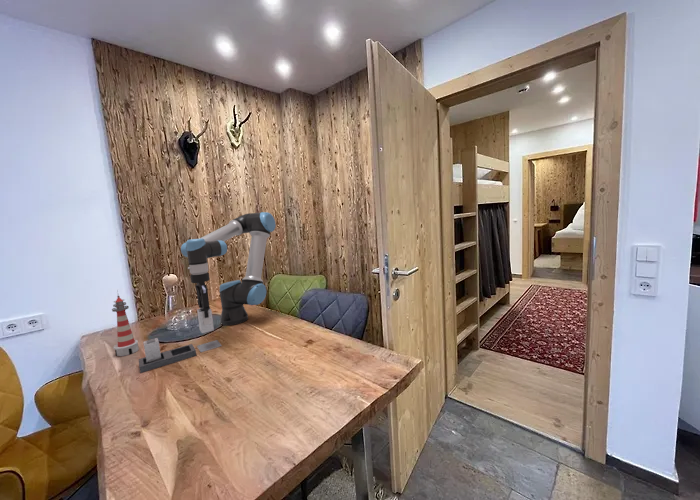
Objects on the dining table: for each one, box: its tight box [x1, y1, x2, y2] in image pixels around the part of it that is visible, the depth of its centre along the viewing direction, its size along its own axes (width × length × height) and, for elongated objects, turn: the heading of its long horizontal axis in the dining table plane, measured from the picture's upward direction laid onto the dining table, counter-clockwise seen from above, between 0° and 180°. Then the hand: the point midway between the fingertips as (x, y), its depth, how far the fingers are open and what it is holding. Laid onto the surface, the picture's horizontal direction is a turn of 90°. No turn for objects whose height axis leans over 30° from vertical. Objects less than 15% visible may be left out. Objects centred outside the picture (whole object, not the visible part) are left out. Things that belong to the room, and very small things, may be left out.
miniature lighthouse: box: [111, 289, 139, 357], centre depth 134 cm, size 9×9×30 cm
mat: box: [196, 339, 223, 353], centre depth 136 cm, size 9×9×1 cm
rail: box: [138, 343, 197, 374], centre depth 124 cm, size 20×9×3 cm, turn 128°
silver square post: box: [143, 337, 162, 364], centre depth 120 cm, size 5×5×10 cm
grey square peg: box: [196, 308, 215, 334], centre depth 134 cm, size 5×5×10 cm
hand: (205, 322), depth 134 cm, fingers closed on grey square peg, 5 cm apart
